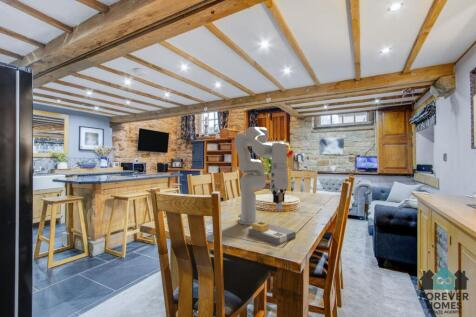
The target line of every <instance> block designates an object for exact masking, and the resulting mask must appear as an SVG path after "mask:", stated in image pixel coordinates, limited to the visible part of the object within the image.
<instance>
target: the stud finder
mask: <svg viewBox="0 0 476 317" xmlns="http://www.w3.org/2000/svg"><path fill="white" fill-rule="evenodd" d="M269 224H270V223H266V222H262V221H258V222H256V223H252V225H251V228H252V229H254V230H257V231H260V232H263V231H266V230H269Z"/></svg>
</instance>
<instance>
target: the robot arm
mask: <svg viewBox="0 0 476 317" xmlns="http://www.w3.org/2000/svg"><path fill="white" fill-rule="evenodd" d="M268 137H269V131H268V130H267V128H266V127H262V126H249V127H247V128H246V130H245V132H244V133H238V134H236V135H235V136H234V142H233V143H234V149H235V151H236V154H237V156H238V157H237V158H238V164H239V169H240V172H241V173H242V174H244V175H242V176H241V177H240V179H239V184H240V192H241V194H240V195H241V198H240V199H241V202H240V203H241V204H240V206H241V209H240V210H241V212H240V214H239V215H238V216H237V217H238V218H240V219H239V220H238V223H239V224H241V225H246V226H252V223H256V222H259V220H258V219H257V216H256V215H257V213H256V212H257V209H256V208H257V202H256V201H257V197H256V193H255V192H254V190H257V189H258V190H259V189H264V188H265V187H266V185H267V177H266V174H265V169H264V164H263V162H262V161H261V160H259V159H253V158H252V156H251V151H249V149H248V148H247V147H251V149H252V151H253V153H254V154H255V155H256V156H258V157H260V158H271V170H270V177H269V191H270V192H271V195H272V202H273V203H274V204H276V203H279V195H278V192H282V193H283V201H282V203H284V202H285V194H286V191H287V189H288V188H289V175H288V174H289V173H288V169H287V144H286V143H285V142H273V143H271V142H270V143H268V142H267V139H268Z"/></svg>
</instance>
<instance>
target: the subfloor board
mask: <svg viewBox="0 0 476 317" xmlns="http://www.w3.org/2000/svg"><path fill="white" fill-rule="evenodd" d="M268 224H269V230H266V231H263V232H260V231H257V230H254V229H252V227H250V228H248V232H247V233H248V235H249V236H252V237H255V238H258V239H261V240H263V241H266V242H269V243H272V244H275V245H279V244H282V243H285V242H287V241H289V240H292V239H294V238H296V235H297V234H296V232H297V231H295V230H291V229H288V228H285V227H282V226H277V225H274V224H271V223H268Z"/></svg>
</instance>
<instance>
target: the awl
mask: <svg viewBox="0 0 476 317" xmlns="http://www.w3.org/2000/svg"><path fill="white" fill-rule="evenodd" d="M278 195H279V203H275V211H277V212H278V211H279V212H282V208H283V202H282V201H283V193H282V192H279V191H278Z"/></svg>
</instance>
